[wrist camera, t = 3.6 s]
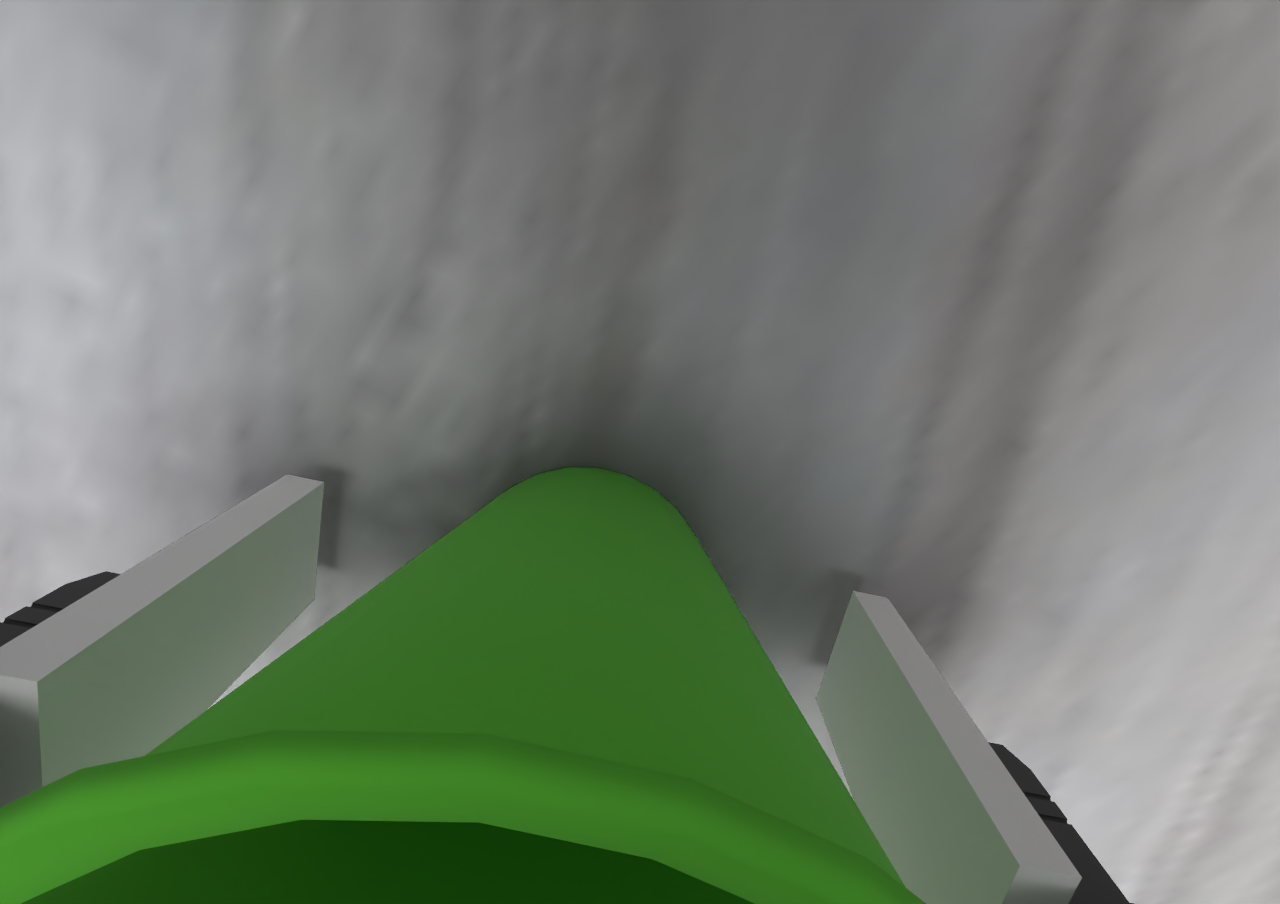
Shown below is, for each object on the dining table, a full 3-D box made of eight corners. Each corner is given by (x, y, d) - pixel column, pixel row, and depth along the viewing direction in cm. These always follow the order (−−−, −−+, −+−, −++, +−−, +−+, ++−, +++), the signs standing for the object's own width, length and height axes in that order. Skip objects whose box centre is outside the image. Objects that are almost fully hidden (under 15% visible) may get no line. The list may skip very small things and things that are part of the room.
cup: (606, 799, 17) (533, 1718, 6) (307, 582, 15) (-472, 1328, 5) (871, 560, 15) (1419, 1313, 4) (560, 279, 13) (201, 376, 3)
